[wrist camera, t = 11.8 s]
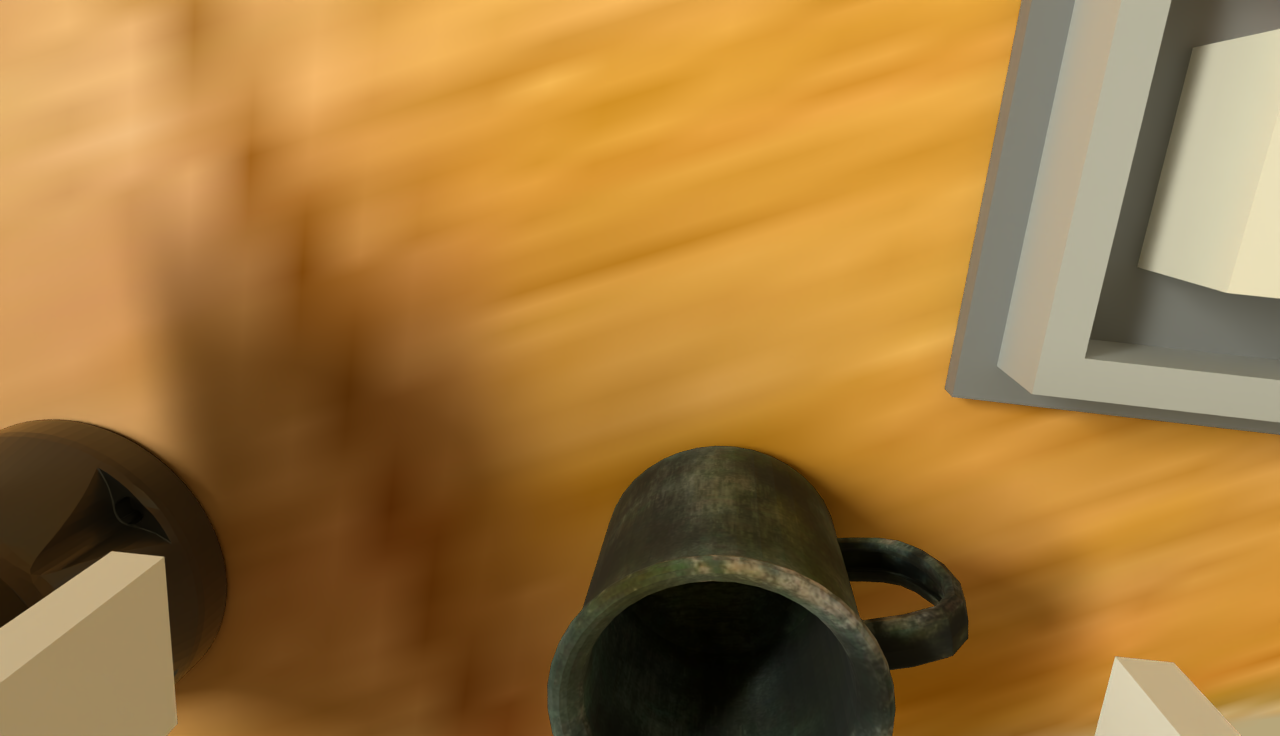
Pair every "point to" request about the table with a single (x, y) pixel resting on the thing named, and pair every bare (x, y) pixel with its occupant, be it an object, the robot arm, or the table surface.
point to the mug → (741, 612)
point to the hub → (1222, 173)
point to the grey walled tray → (1105, 230)
